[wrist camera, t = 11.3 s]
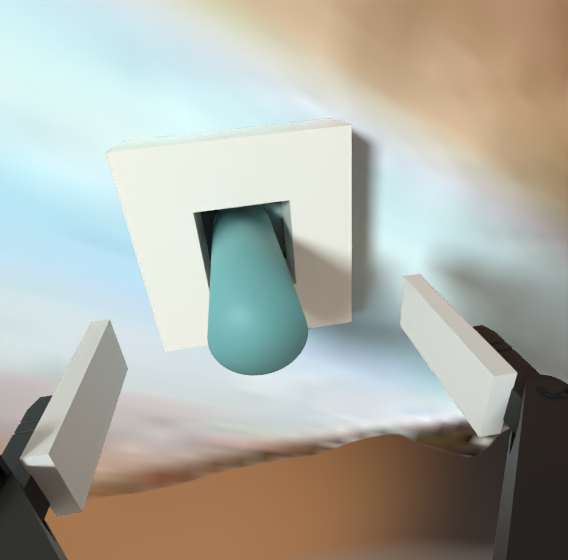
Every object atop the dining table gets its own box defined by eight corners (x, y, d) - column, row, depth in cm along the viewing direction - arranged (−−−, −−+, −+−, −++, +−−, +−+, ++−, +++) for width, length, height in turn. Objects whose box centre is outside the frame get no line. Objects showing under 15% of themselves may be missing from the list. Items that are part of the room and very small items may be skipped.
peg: (267, 195, 28) (304, 285, 16) (273, 250, 30) (310, 366, 18) (207, 203, 28) (198, 301, 15) (218, 257, 30) (216, 382, 18)
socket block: (331, 118, 26) (351, 124, 22) (335, 292, 33) (351, 321, 29) (123, 140, 25) (105, 152, 21) (171, 317, 32) (164, 352, 28)
